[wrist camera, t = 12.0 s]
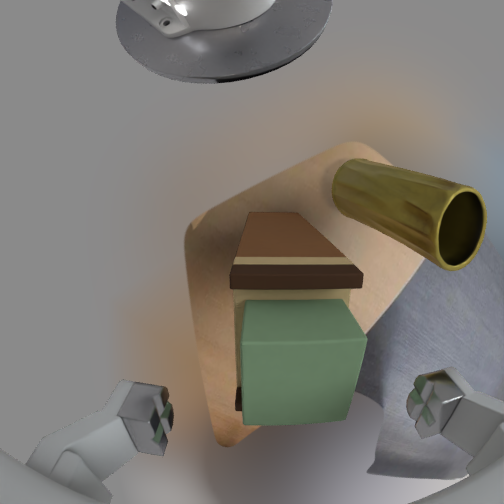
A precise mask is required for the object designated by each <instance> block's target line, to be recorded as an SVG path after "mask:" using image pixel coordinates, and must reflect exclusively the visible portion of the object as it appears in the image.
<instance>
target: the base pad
mask: <svg viewBox="0 0 504 504" xmlns="http://www.w3.org/2000/svg"><path fill="white" fill-rule="evenodd" d="M363 276H364V274H363V273H362V272H361V271H360V270H359V269H358V268H357V267H356V266H355V265H354V264H353V263H352V262H351V261H350V260H349V259H348V258H347V257H346V256H345V255H344V254H343V253H341V252H340V251H339V250H338V249H337V248H336V247H335V246H334V245H333V244H332V243H331V242H330V241H329V240H328V239H326V238H325V237H324V236H323V235H322V234H321V233H320V232H319V231H318V230H317V229H315V228H314V227H313V226H312V225H311V224H310V223H309V222H308V221H307V220H305V219H304V218H303V217H302V216H301V215H300V214H299V213H285V212H249V215H248V218H247V221H246V224H245V227H244V230H243V234H242V237H241V240H240V243H239V246H238V250H237V253H236V256H235V259H234V262H233V266H232V269H231V272H230V289H233V295H234V327H235V354H236V378H237V390H236V400H235V410H236V411H242V389H241V359H240V340H241V331H242V323H243V314H244V306H245V301H246V300H311V299H343V301H344V302H345V304H346V305H347V307H349V300H350V293H351V289H355V288H362V284H363Z"/></svg>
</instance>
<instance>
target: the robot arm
mask: <svg viewBox="0 0 504 504" xmlns="http://www.w3.org/2000/svg"><path fill="white" fill-rule="evenodd" d="M120 1H122V2H123V3H124V4H126V5H127V6H128V7H130V8H131V9H132V10H134V11H135V12H136V13H137V14H139V15H140V16H141V17H142V18H144V19H145V20H146V21H147V22H148V23H150V24H151V25H152V26H153V27H155V28H156V29H157V30H158V31H159V32H160V33H162V34H163V35H164V36H165V37H167V38H175V37H178V36H181V35H184V34H187V33H189V32H192V31H196V30H213V29H223V28H228V27H233V26H237V25H240V24H243V23H246V22H248V21H251V20H253V19H255V18H257V17H258V16H260V15H261V14H263V13H264V12H266V11H267V10H268V9H269V8H270V7H271V6H272V5H273V3H274V2H275V0H120ZM167 23H170V24H169V25H167V26H165V25H166V24H167ZM414 387H415V388H414V389H413V390H412V391H411V392H410V393H409V396H408V398H407V406H406V408H407V412H408V414H409V416H410V418H412V419H414V420H415V421H416V423H415V428H416V430H417V431H418V433H419V435H420V437H421V439H424V438H427V437H430V436H433V435H436V434H439V433H441V435H442V436H444V437H445V438H446V439H448V440H449V441H451V442H452V443H454V444H455V445H457V446H458V447H460V448H461V449H462V450H464V451H465V452H467V453H468V454H470V455H471V456H473V457H474V458H473V459H472V460H471V461H470V462H469V464H468V465H467V467H466V470H467V472H468V474H469V477H467V478H465V479H463V480H461V481H460V482H458V483H455V484H454V485H451V486H449V487H447V488H445V489H443V490H441V491H439V492H437V493H434V494H432V495H429V496H427V497H425V498H422V499H420V500H417V501H414V502H412V503H409V504H504V401H501V400H499V399H496V398H494V397H491V396H489V395H487V394H484V393H482V392H479V391H476V392H475V391H474V390H473V389H472V387H471V386H470V385H469V384H468V383H467V381H466V380H465V379H464V378H463V377H462V375H461V374H460V373H459V372H458V371H457V370H456V368H454V367H449V368H445V369H441V370H438V371H434V372H430V373H426V374H422V375H419V376H418V377H417V378H416V379H415V382H414ZM168 398H169V393H168V389H167V388H166V387H164V386H157V385H152V384H146V383H140V382H133V381H128V380H121V381H120V382H119V383H118V384H117V386H116V388H115V389H114V391H113V393H112V394H111V396H110V398H109V399H108V401H107V403H106V404H105V406H104V408H103V410H102V411H101V412H99V411H96V412H94V413H92V414H91V415H89V416H87V417H85V418H83V419H81V420H79V421H77V422H75V423H73V424H70V425H68V426H66V427H64V428H62V429H60V430H58V431H56V432H54V433H52V434H49V435H47V436H45V437H43V438H42V439H41V441H40V442H39V444H38V446H37V447H36V449H35V450H34V452H33V453H32V455H31V456H30V458H29V460H28V461H27V463H26V464H23V463H21V462H20V461H18V460H17V459H15V458H14V457H12V456H11V455H9V454H8V453H6V452H5V451H3V450H2V449H0V504H110V502H111V499H112V494H111V492H110V491H109V490H108V489H107V488H106V487H105V485H104V484H103V483H102V481H103V480H105V479H106V478H107V477H109V476H110V475H111V474H113V473H114V472H115V471H117V470H118V469H119V468H120V467H121V466H123V465H124V464H125V463H127V462H128V461H129V460H130V459H132V458H133V457H134V456H135V455H137V454H138V452H142V453H147V454H153V455H159V456H164V452H165V449H166V446H167V442H168V440H167V437H166V434H167V433H169V432H170V431H171V429H172V426H173V418H174V413H173V407H172V404H170V403H169V402H168Z"/></svg>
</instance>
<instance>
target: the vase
mask: <svg viewBox="0 0 504 504" xmlns="http://www.w3.org/2000/svg"><path fill="white" fill-rule="evenodd" d="M332 197H333V201H334V203H335V205H336V207H337V208H338V210H339V211H340V212H341V213H342V214H343V215H345V216H346V217H349V218H352V219H355V220H357V221H359V222H361V223H363V224H365V225H367V226H369V227H371V228H374V229H376V230H378V231H380V232H382V233H383V234H385V235H387V236H389V237H391V238H393V239H395V240H397V241H398V242H400V243H402V244H404V245H406V246H407V247H409V248H411V249H412V250H414V251H415V252H417V253H419V254H420V255H422V256H424V257H425V258H427V259H428V260H430V261H431V262H433V263H434V264H436V265H437V266H439V267H440V268H442V269H444V270H448V271H456V270H460V269H462V268H463V267H465V266H466V265H468V264H469V263H470V262H471V261H472V259H473V258H474V257H475V255H476V254H477V252H478V250H479V248H480V246H481V243H482V241H483V238H484V234H485V229H486V223H487V212H486V207H485V203H484V201H483V198H482V196H481V194H480V193H479V192H478V191H477V190H475V189H474V188H472V187H470V186H466V185H461V184H458V183H455V182H451V181H448V180H445V179H442V178H437V177H434V176H430V175H426V174H423V173H419V172H415V171H411V170H407V169H403V168H398V167H394V166H389V165H385V164H381V163H377V162H372V161H369V160H367V159H352V160H349V161H347V162H346V163H344V164H343V165H342V166H341V167H340V168H339V169H338V171H337V172H336V174H335V176H334V179H333V183H332Z"/></svg>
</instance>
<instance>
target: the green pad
mask: <svg viewBox="0 0 504 504" xmlns="http://www.w3.org/2000/svg"><path fill="white" fill-rule="evenodd" d="M366 343H367V337H366V335H365V334H364V332H363V331H362V329H361V327H360V326H359V324H358V323H357V321H356V319H355V318H354V316H353V315H352V313H351V312H350V310H349V308H348V307H347V305H346V304H345V302H344V301H343V299H311V300H246V301H245V306H244V314H243V323H242V331H241V340H240V359H241V389H242V416H243V424H244V425H296V424H312V423H323V422H333V421H342V420H345V419H346V416H347V413H348V410H349V407H350V404H351V401H352V397H353V393H354V390H355V387H356V383H357V380H358V376H359V372H360V368H361V364H362V360H363V356H364V352H365V347H366Z"/></svg>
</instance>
